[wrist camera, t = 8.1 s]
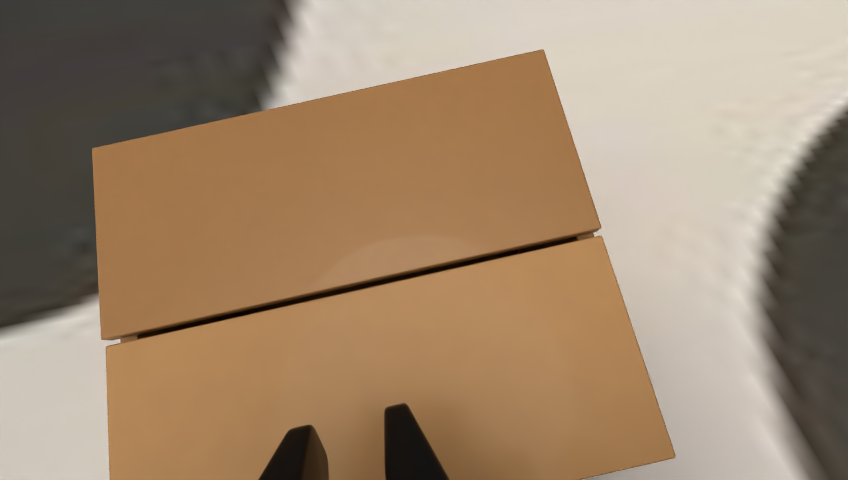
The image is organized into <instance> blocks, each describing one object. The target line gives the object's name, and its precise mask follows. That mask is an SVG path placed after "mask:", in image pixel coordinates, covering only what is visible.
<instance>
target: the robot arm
mask: <svg viewBox="0 0 848 480" xmlns="http://www.w3.org/2000/svg"><path fill="white" fill-rule="evenodd" d="M384 463H385V478H386V480H450V479H449V477H448V476H447V474H446V472H445V470H444V468H443V467H442V465H441V463H440V461H439V460H438V458H437V456H436V454H435V452H434V451H433V449H432V447H431V445H430V444H429V442H428V440H427V438H426V437H425V435H424V433H423V431H422V429H421V428H420V426H419V424H418V422H417V421H416V419H415V417H414V415H413V413H412V412H411V410H410V408H409V406H408V405H407V404H406V403H401V404H397V405H392V406H388V407H386V408H385V410H384ZM258 480H329V467H328V458H327V454H326V451H325V449H324V447H323V444H322V442H321V440H320V438H319V436H318V434H317V432H316V430H315V428H314V427H313V426H312V425H304V426H299V427H295V428H292V429H290V430H289V431H288V432H287V433H286V434H285V436H284V438H283V439H282V441H281V443H280V444H279V446H278V448H277V449H276V451H275V453H274V454H273V456H272V458H271V459H270V461H269V463H268V464H267V466H266V468H265V469H264V471H263V473H262V474H261V476H260V478H259V479H258Z"/></svg>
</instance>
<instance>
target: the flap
mask: <svg viewBox="0 0 848 480" xmlns="http://www.w3.org/2000/svg"><path fill="white" fill-rule="evenodd" d="M106 372H107V405H108V437H109V469H110V480H258V479H259V478H260V476H261V474H262V473H263V471H264V469H265V468H266V466H267V464H268V463H269V461H270V459H271V458H272V456H273V454H274V453H275V451H276V449H277V448H278V446H279V444H280V443H281V441H282V439H283V438H284V436H285V434H286V433H287V432H288V431H289V430H290V429H292V428H295V427H299V426H304V425H312V426H313V427H314V428H315V430H316V432H317V434H318V436H319V438H320V440H321V442H322V444H323V447H324V449H325V451H326V454H327V458H328V467H329V480H386V478H385V463H384V410H385V408H386V407H388V406H392V405H397V404H401V403H406V404H407V405H408V406H409V408H410V410H411V412H412V413H413V415H414V417H415V419H416V421H417V422H418V424H419V426H420V428H421V429H422V431H423V433H424V435H425V437H426V438H427V440H428V442H429V444H430V445H431V447H432V449H433V451H434V452H435V454H436V456H437V458H438V460H439V461H440V463H441V465H442V467H443V468H444V470H445V472H446V474H447V476H448V477H449V479H450V480H581V479H585V478H590V477H594V476H598V475H603V474H607V473H611V472H616V471H620V470H624V469H629V468H633V467H638V466H642V465H646V464H651V463H655V462H659V461H664V460H668V459H672V458H675V453H674V450H673V447H672V444H671V441H670V438H669V435H668V432H667V429H666V426H665V423H664V420H663V417H662V414H661V411H660V408H659V405H658V402H657V399H656V396H655V393H654V390H653V387H652V384H651V381H650V378H649V375H648V372H647V369H646V366H645V363H644V360H643V357H642V354H641V351H640V348H639V345H638V342H637V339H636V336H635V333H634V330H633V327H632V324H631V321H630V318H629V315H628V313H627V310H626V307H625V304H624V301H623V298H622V295H621V292H620V289H619V286H618V283H617V280H616V277H615V274H614V271H613V268H612V265H611V262H610V259H609V256H608V253H607V250H606V247H605V244H604V241H603V238H602V236H596V237H592V238H588V239H583V240H579V241H574V242H570V243H565V244H561V245H556V246H552V247H547V248H543V249H539V250H534V251H530V252H525V253H521V254H516V255H512V256H507V257H503V258H498V259H494V260H489V261H485V262H481V263H476V264H472V265H467V266H463V267H458V268H454V269H449V270H445V271H440V272H436V273H431V274H427V275H423V276H418V277H414V278H409V279H405V280H400V281H396V282H391V283H387V284H382V285H378V286H373V287H369V288H365V289H360V290H356V291H351V292H347V293H342V294H338V295H333V296H329V297H324V298H320V299H315V300H311V301H307V302H302V303H298V304H293V305H289V306H284V307H280V308H275V309H271V310H266V311H262V312H257V313H253V314H249V315H244V316H240V317H235V318H231V319H226V320H222V321H217V322H213V323H208V324H204V325H200V326H195V327H191V328H186V329H182V330H177V331H173V332H168V333H164V334H159V335H155V336H150V337H146V338H142V339H137V340H133V341H128V342H124V343H119V344H115V345H110V346H107V347H106Z"/></svg>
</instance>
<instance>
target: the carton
mask: <svg viewBox="0 0 848 480" xmlns="http://www.w3.org/2000/svg"><path fill="white" fill-rule="evenodd" d="M92 156H93V177H94V198H95V219H96V240H97V261H98V282H99V303H100V324H101V339H102V340H116V339H120V338H121V343H124V342H128V341H133V340H137V339H142V338H146V337H150V336H155V335H159V334H164V333H168V332H173V331H177V330H182V329H186V328H191V327H195V326H200V325H204V324H208V323H213V322H217V321H222V320H226V319H231V318H235V317H240V316H244V315H249V314H253V313H257V312H262V311H266V310H271V309H275V308H280V307H284V306H289V305H293V304H298V303H302V302H307V301H311V300H315V299H320V298H324V297H329V296H333V295H338V294H342V293H347V292H351V291H356V290H360V289H365V288H369V287H373V286H378V285H382V284H387V283H391V282H396V281H400V280H405V279H409V278H414V277H418V276H423V275H427V274H431V273H436V272H440V271H445V270H449V269H454V268H458V267H463V266H467V265H472V264H476V263H481V262H485V261H489V260H494V259H498V258H503V257H507V256H512V255H516V254H521V253H525V252H530V251H534V250H539V249H543V248H547V247H552V246H556V245H561V244H565V243H570V242H574V241H579V240H583V239H588V238H592V237H594V234H593V232H597V231H598V230H599V229H600V228H601V225H600V222H599V218H598V215H597V212H596V209H595V206H594V203H593V200H592V197H591V194H590V191H589V188H588V185H587V182H586V178H585V175H584V172H583V169H582V166H581V163H580V160H579V157H578V154H577V151H576V148H575V145H574V142H573V138H572V135H571V132H570V129H569V126H568V123H567V120H566V117H565V114H564V111H563V108H562V105H561V102H560V98H559V95H558V92H557V89H556V86H555V83H554V80H553V77H552V74H551V71H550V68H549V65H548V61H547V58H546V55H545V52H544V50H538V51H533V52H529V53H524V54H520V55H515V56H511V57H506V58H501V59H497V60H492V61H488V62H483V63H479V64H474V65H470V66H465V67H461V68H456V69H451V70H447V71H442V72H438V73H433V74H429V75H424V76H420V77H415V78H411V79H406V80H401V81H397V82H392V83H388V84H383V85H379V86H374V87H370V88H365V89H361V90H356V91H351V92H347V93H342V94H338V95H333V96H329V97H324V98H320V99H315V100H311V101H306V102H301V103H297V104H292V105H288V106H283V107H279V108H274V109H270V110H265V111H261V112H256V113H251V114H247V115H242V116H238V117H233V118H229V119H224V120H220V121H215V122H211V123H206V124H201V125H197V126H192V127H188V128H183V129H179V130H174V131H170V132H165V133H161V134H156V135H151V136H147V137H142V138H138V139H133V140H129V141H124V142H120V143H115V144H111V145H106V146H101V147H97V148H93V149H92Z"/></svg>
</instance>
